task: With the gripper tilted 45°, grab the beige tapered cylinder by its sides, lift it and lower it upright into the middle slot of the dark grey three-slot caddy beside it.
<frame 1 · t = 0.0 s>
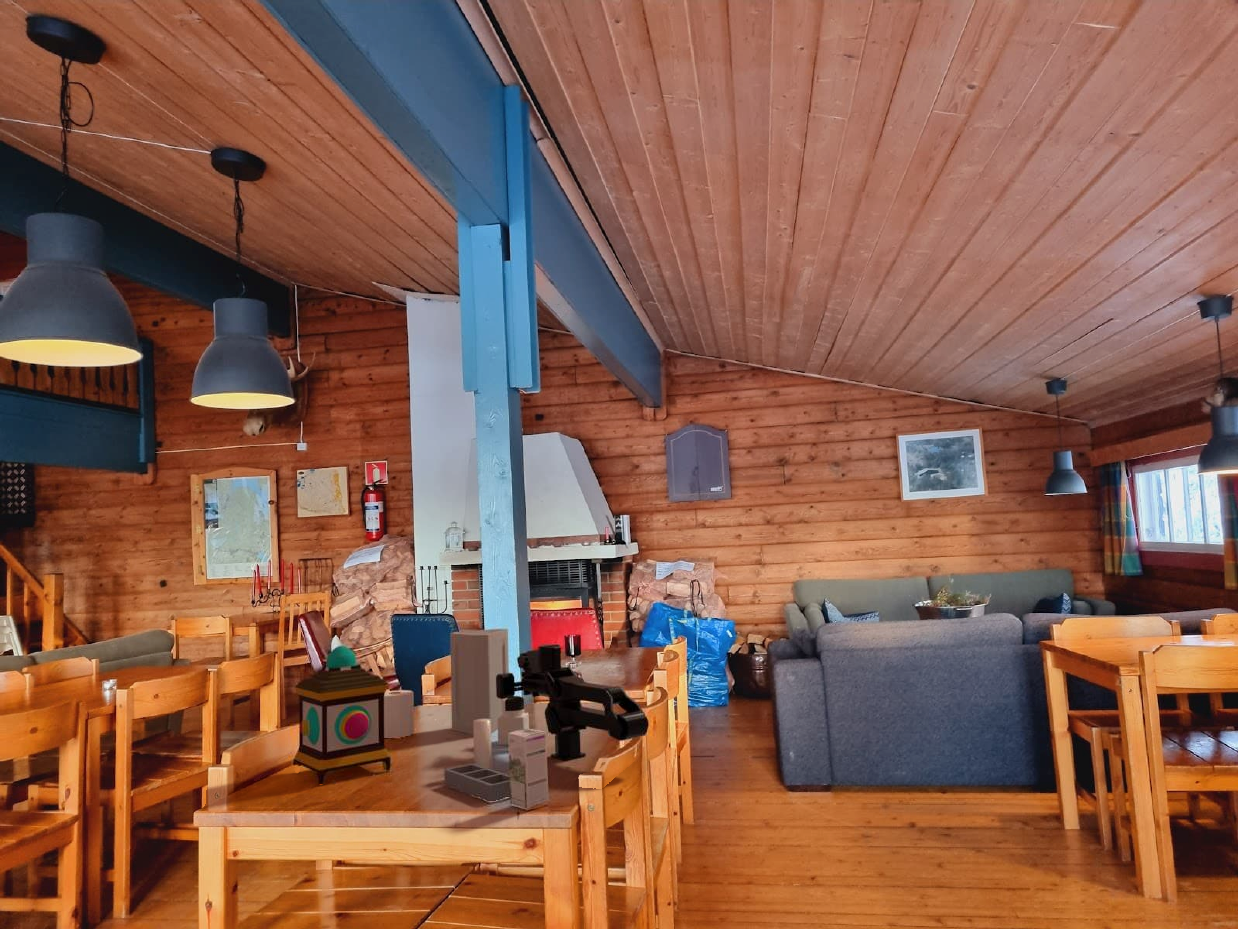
hand: (511, 679, 230), 17 cm above the table, tool horizontal, fingers open, 9 cm apart
caddy: (481, 790, 181), on the table
syrup box: (529, 807, 169), on the table
medicine bottle: (513, 743, 228), on the table
decorative lantern: (341, 773, 202), on the table
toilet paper: (395, 736, 244), on the table
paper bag: (476, 729, 249), on the table
beige tapered cylinder: (483, 773, 196), on the table
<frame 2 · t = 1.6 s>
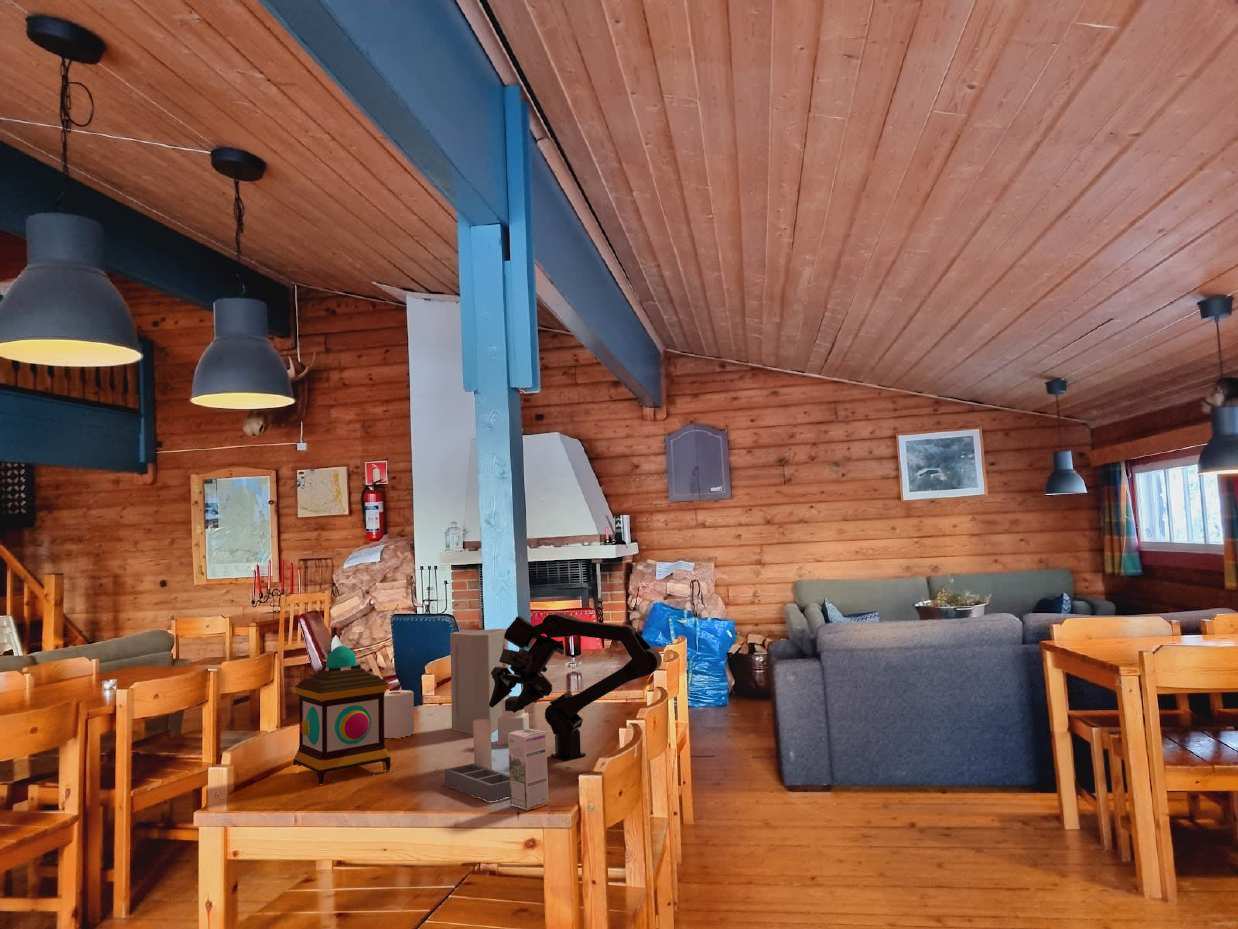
hand: (501, 709, 203), 13 cm above the table, tool tilted 45°, fingers open, 9 cm apart
nothing on the table moved.
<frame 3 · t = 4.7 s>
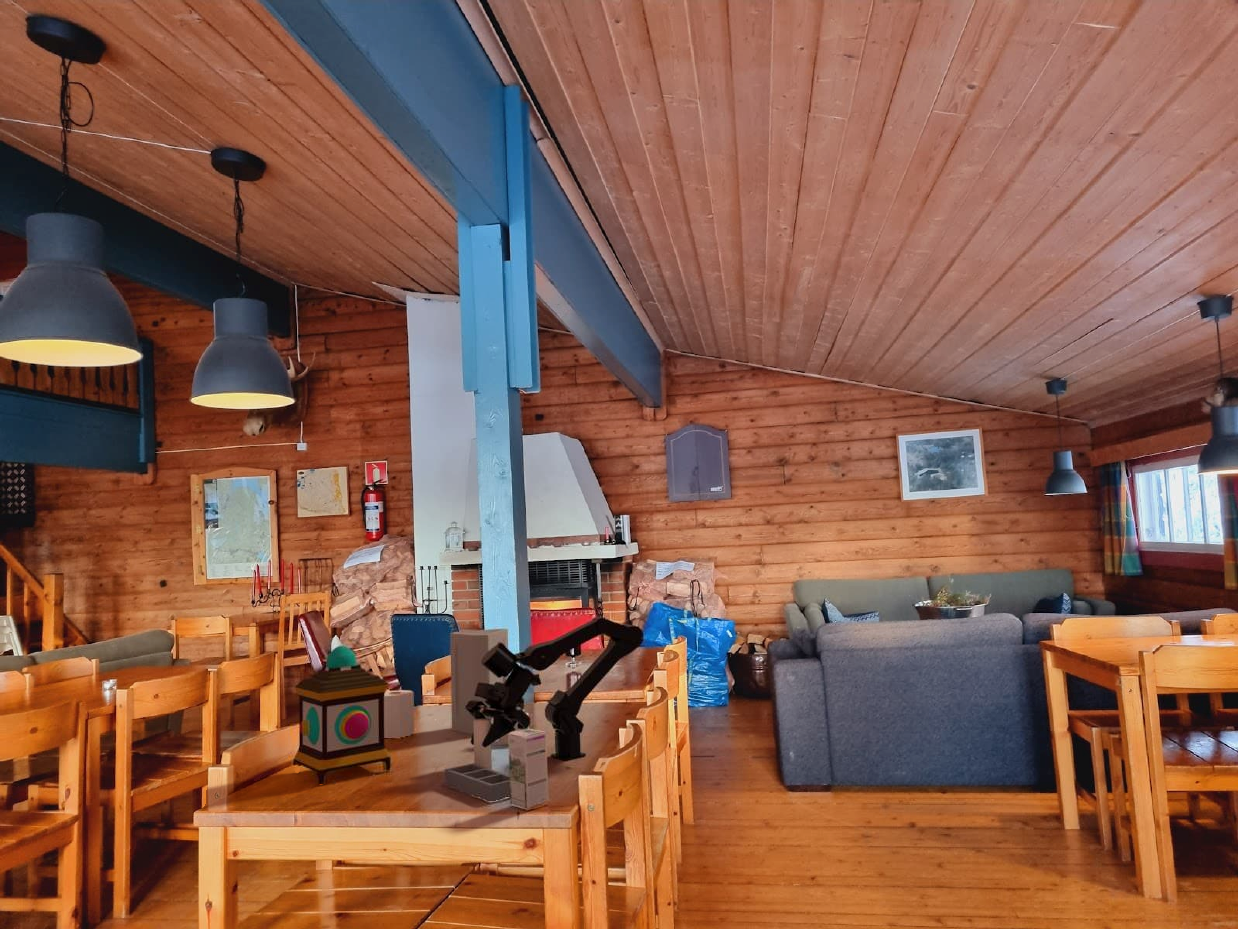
hand: (477, 745, 196), 7 cm above the table, tool tilted 45°, fingers closed on beige tapered cylinder, 4 cm apart
beige tapered cylinder: (483, 773, 196), on the table, touching gripper
everything else where it was.
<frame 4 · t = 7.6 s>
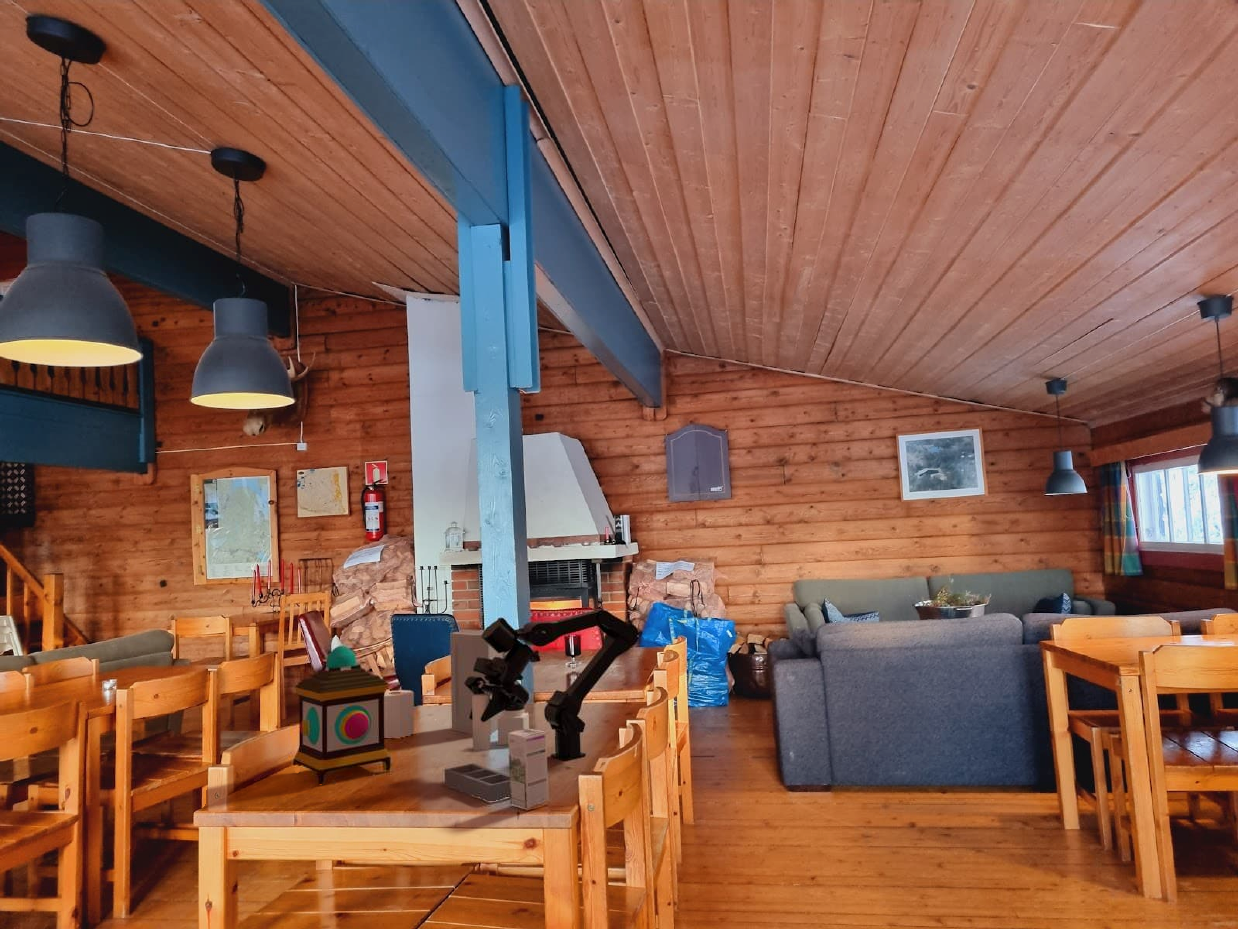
hand: (476, 720, 195), 13 cm above the table, tool tilted 45°, fingers closed on beige tapered cylinder, 4 cm apart
beige tapered cylinder: (481, 748, 195), point 6 cm above the table, touching gripper
everything else where it was.
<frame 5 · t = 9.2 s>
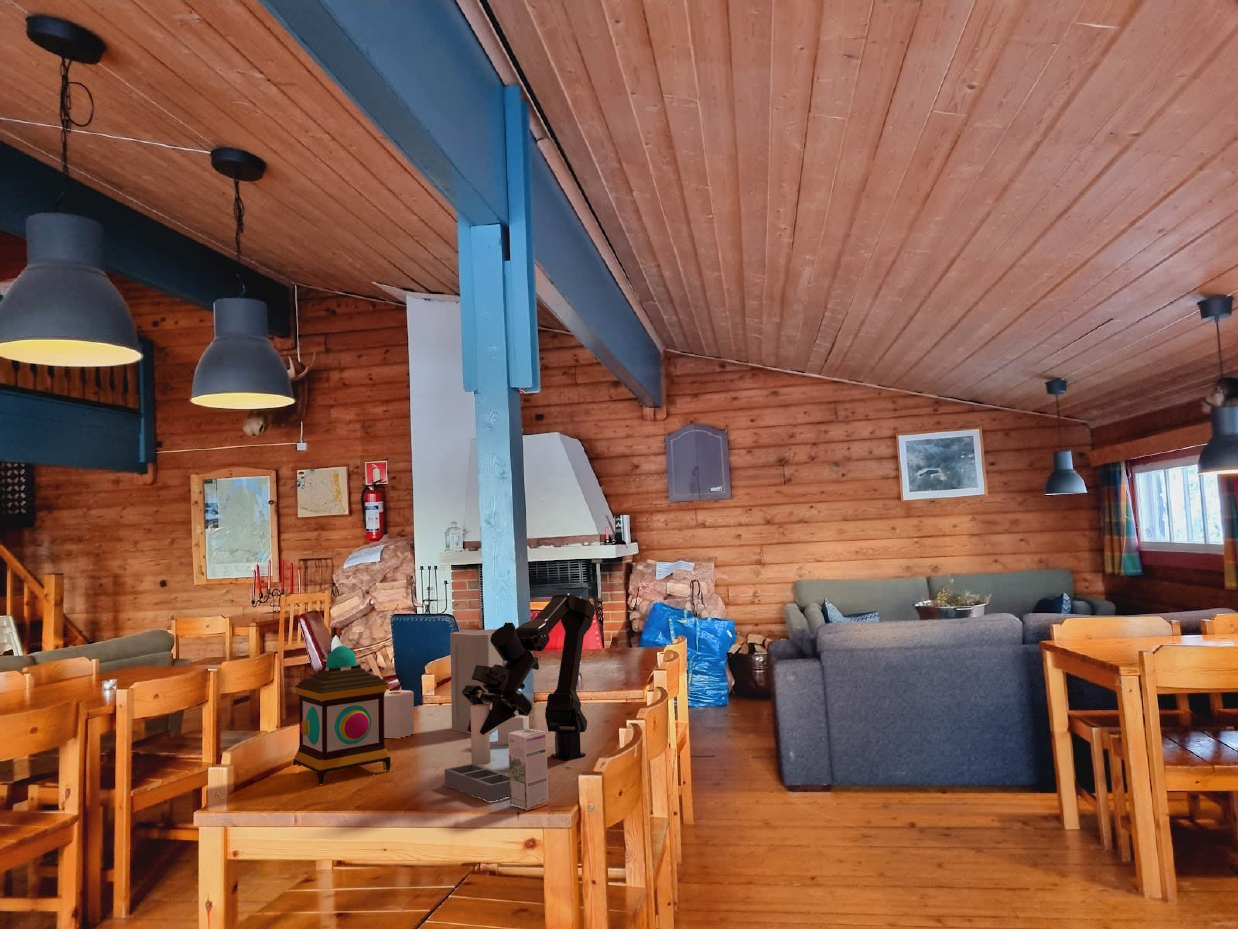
hand: (475, 732, 181), 12 cm above the table, tool tilted 45°, fingers closed on beige tapered cylinder, 4 cm apart
beige tapered cylinder: (481, 762, 182), point 6 cm above the table, touching gripper
everything else where it was.
when the fingers open (8 cm above the table, at t = 10.7 s): beige tapered cylinder stays where it is, resting on caddy.
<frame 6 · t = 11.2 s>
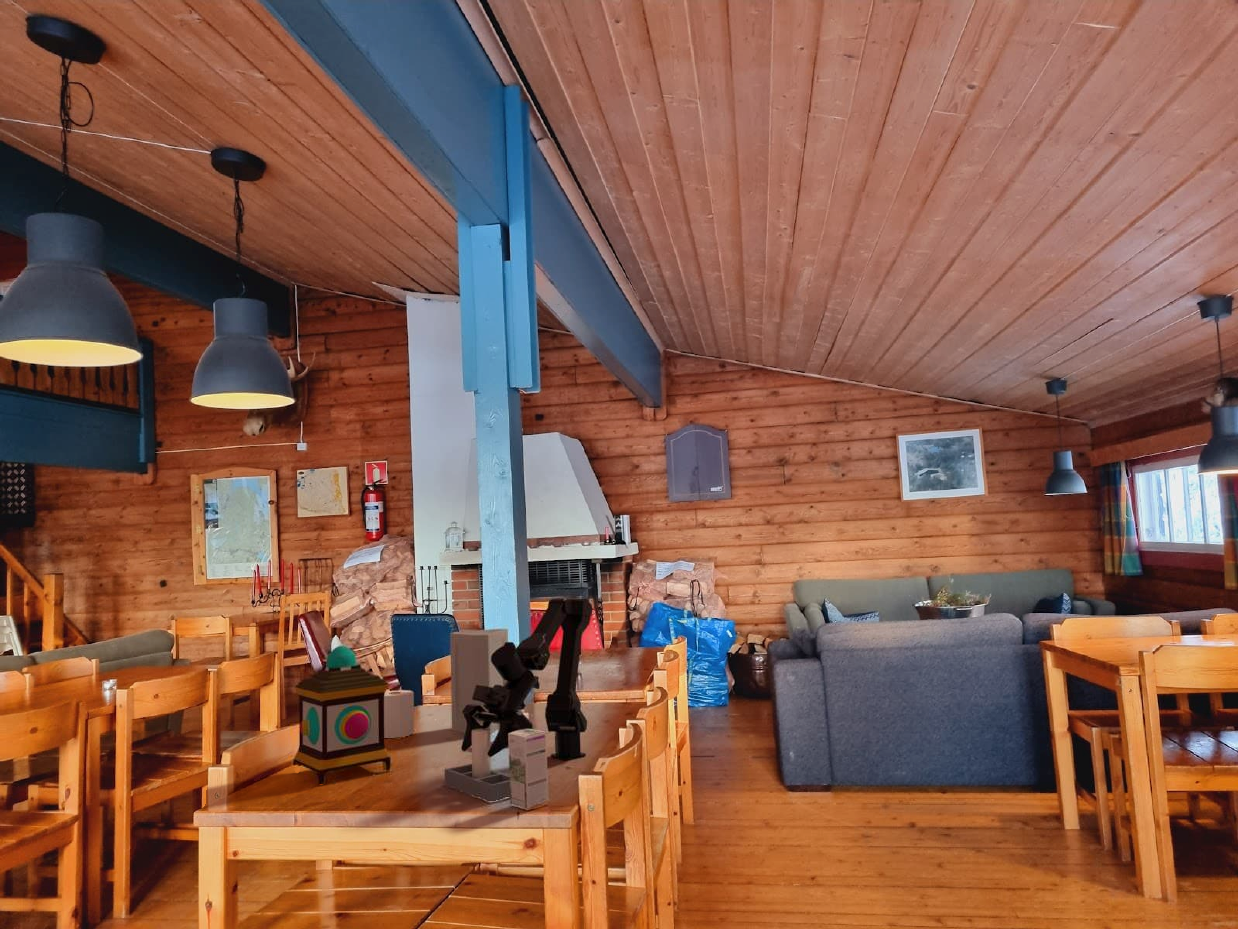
hand: (475, 753, 181), 8 cm above the table, tool tilted 45°, fingers open, 9 cm apart
beige tapered cylinder: (481, 787, 181), point 1 cm above the table, touching caddy
everything else where it was.
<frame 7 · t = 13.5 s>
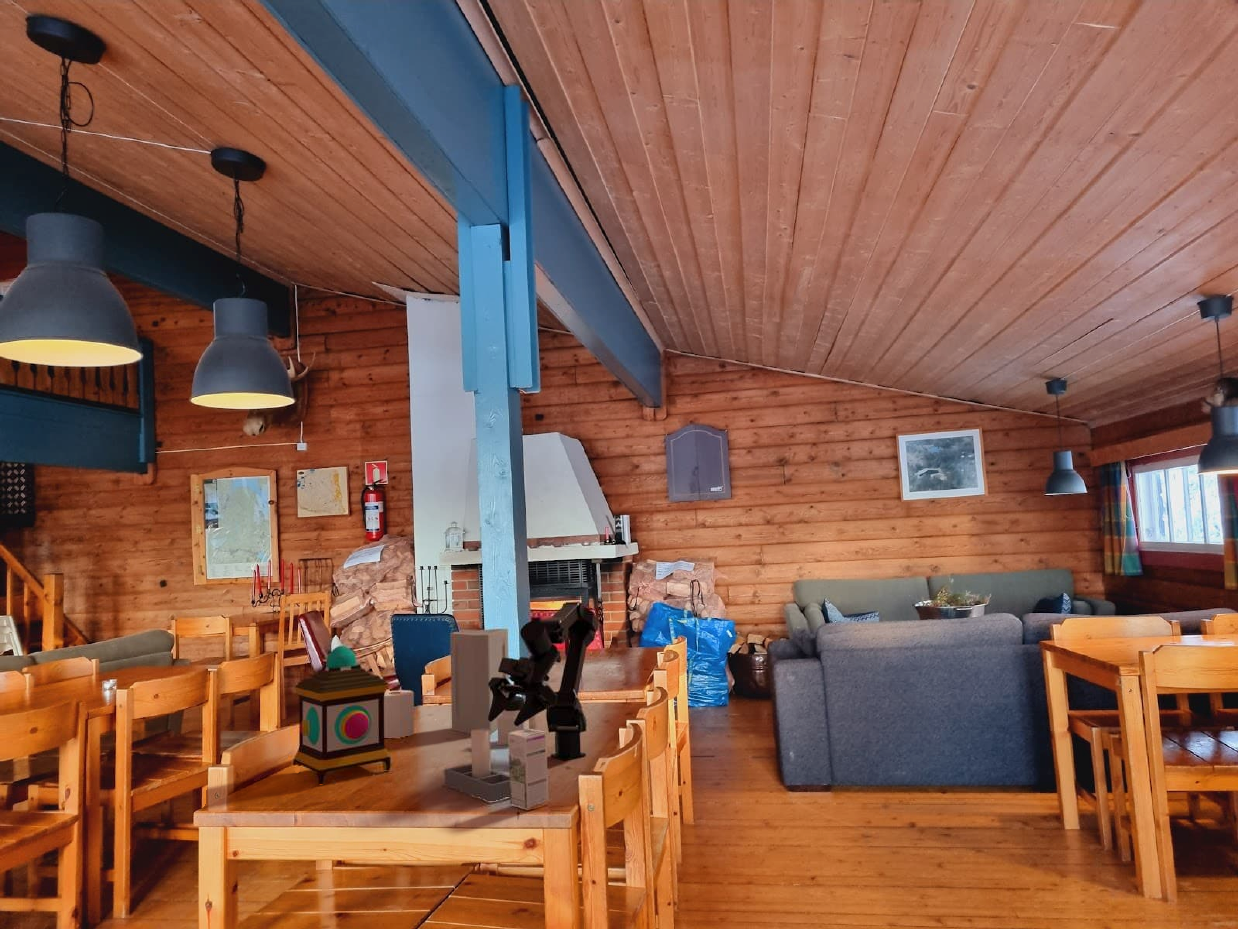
hand: (502, 722, 187), 13 cm above the table, tool tilted 45°, fingers open, 9 cm apart
nothing on the table moved.
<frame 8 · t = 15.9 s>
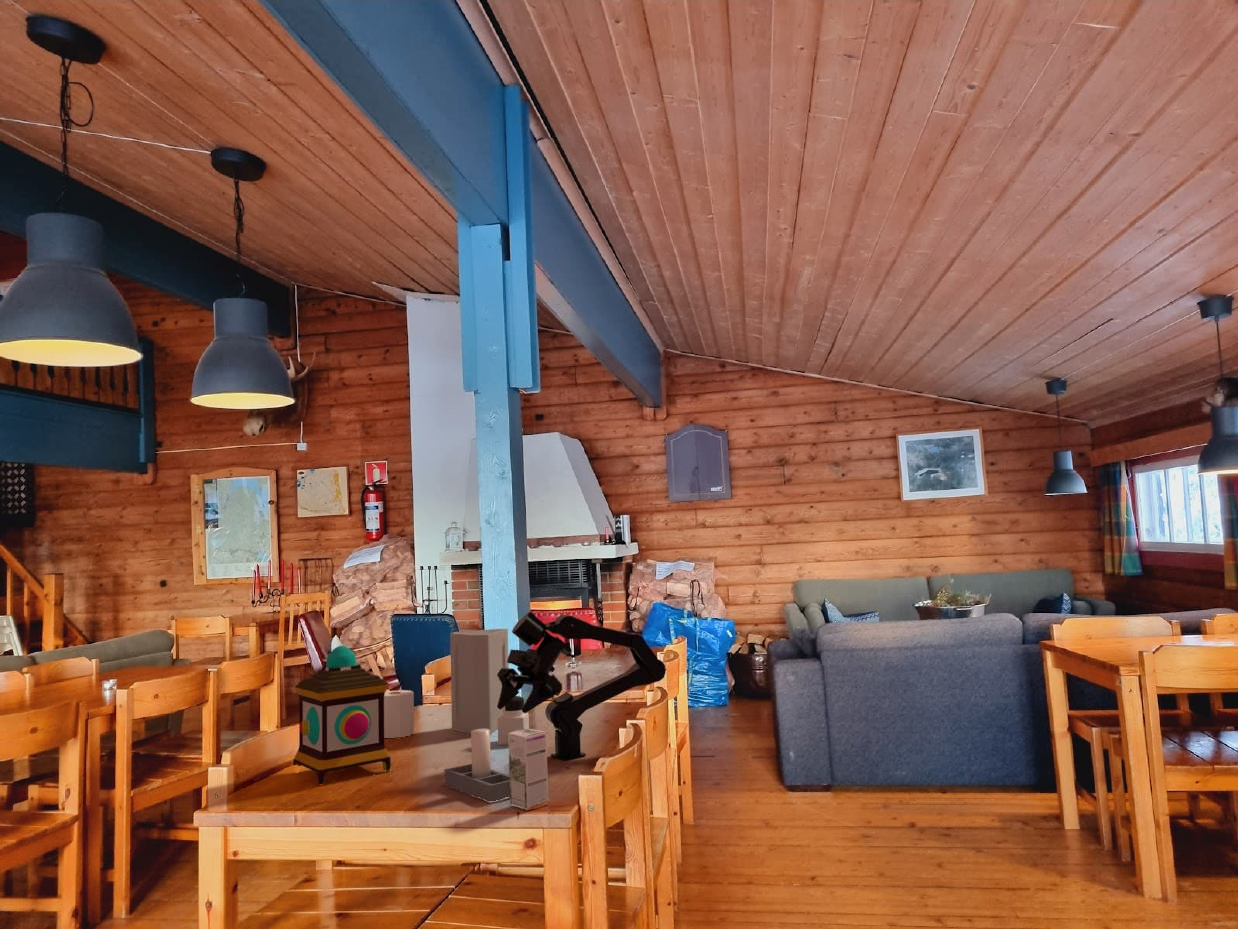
hand: (510, 710, 200), 14 cm above the table, tool tilted 45°, fingers open, 9 cm apart
nothing on the table moved.
at the end: beige tapered cylinder 0.0 cm off-centre on the caddy, point 0.6 cm above the caddy's base; beige tapered cylinder tilted 0°; the gripper is holding nothing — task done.
